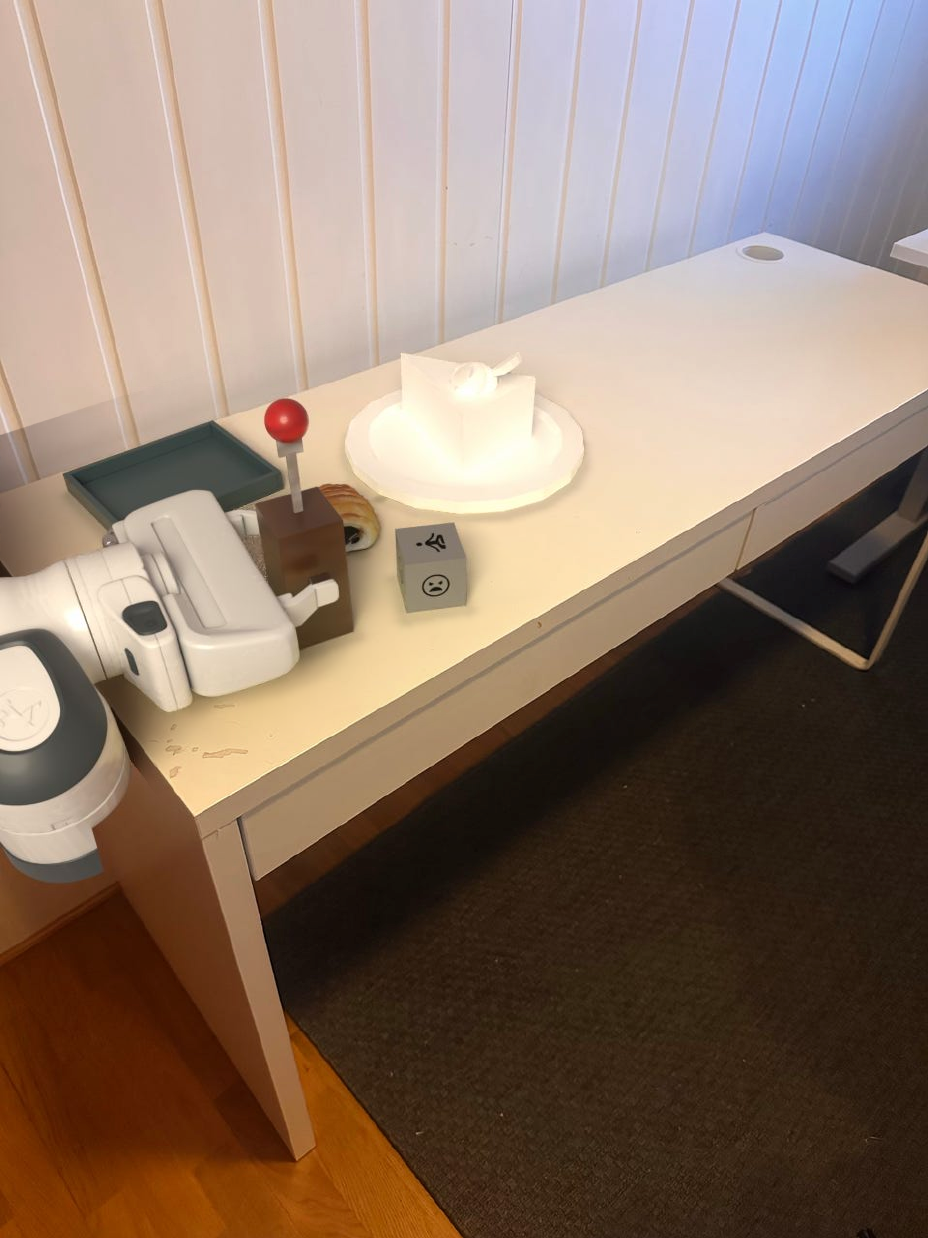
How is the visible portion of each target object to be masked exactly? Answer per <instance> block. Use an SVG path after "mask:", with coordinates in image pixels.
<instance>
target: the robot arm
mask: <svg viewBox="0 0 928 1238" xmlns="http://www.w3.org/2000/svg"><path fill="white" fill-rule="evenodd" d="M113 533H114V535H115V536H113V535H112V534H113ZM247 536H260V532H259V526H258V520H257V514H256V510H253V509H252V510H251V509H239V508H236V509H234V510H231V511H229V512H226V513H224V511H223V509H222V508H221V506H220V505H219V503H218V501H217V500H216V498H215V497H214V495H213V493H212V492H210V491H206V490H191V491H187V492H184V493H180V494H177V495H174V496H171V497H168V498H165V499H163V500H160V501H157V502H154V503H152V504H149V505H147V506H144V507H142V508H139V509H137V510H135V511H133V512H132V513H130V514H129V515H128V516H127V517H126V518H125V520H122V521H119V522H116V523H114V524H113V525H112V528H110V529H109V531H107V532H106V533H105V534H104V535H103V536H102V539H101V545H102V548H99V549H95V550H91V551H88V552H84V553H81V554H77V555H74V556H70V557H65V558H63V559H60V560H57V561H55V562H53V563H51V564H50V565H48V566H46V567H45V568H43V569H40V570H39V571H36V572H33V573H30V574H27V575H19V576H1V577H0V846H1V849H2V850H3V852H4V853H5V855H6V857H7V858H8V860H9V861H10V863H11V864H12V865H13V866H14V867H15V869H17V870H18V871H19V872H21V873H22V874H24V875H26V876H27V877H29V878H31V879H34V880H37V881H39V882H44V883H51V884H70V883H74V882H76V883H77V882H80V881H83V880H88V879H89V878H92V877H95V876H98V875H100V874H102V873H103V872H105V869H104V866H103V864H102V859H101V856H100V852H99V849H98V846H97V842H96V839H95V835H94V832H93V828H94V827H96V826H97V825H98V824H100V823H101V822H103V821H104V820H105V819H106V818H107V817H108V816H110V814H111V813H112V812H113V811H114V810H115V809H116V808H117V806H118V805H119V804H121V803H120V802H121V801H122V799H123V798H124V796H125V794H126V793H127V790H128V787H129V785H130V782H131V777H132V762H131V758H130V755H129V753H128V750H127V746H126V745H125V741H124V739H123V736H122V733H121V732H120V729H119V726H118V724H117V720H116V718H115V716H114V714H113V711H112V709H111V706H110V705H109V703H108V701H107V700H106V698H105V697H104V696H103V694H102V693H101V692H100V690H99V689H98V688H97V687H96V686H95V684H97V683H99V682H101V681H105V680H107V679H111V678H115V677H117V676H121V675H123V676H124V678H125V679H126V680H127V681H128V682H130V683H131V684H132V685H134V686H135V687H136V688H137V689H138V690H140V691H141V692H142V693H143V694H144V695H146V697H148V698H149V699H150V700H151V701H152V702H153V703H154V704H155V705H156V706H157V707H158V708H159V709H160V710H162V711H164V712H167V713H173V712H176V711H178V710H183V709H184V708H187V707H189V706H190V705H191V704H192V703H193V700H194V698H193V692H194V693H195V694H197V695H199V696H203V697H221V696H225V695H230V694H234V693H236V692H239V691H244V690H246V689H250V688H252V687H256V686H259V685H261V684H265V683H267V682H270V681H272V680H275V679H278V678H280V677H282V676H284V675H286V674H288V673H289V672H290V671H291V670H292V669H293V668H294V667H295V666H296V664H297V663H298V662H299V660H300V656H301V655H300V650H299V647H298V640H297V634H296V629H295V627H298V626H301V625H302V624H303V623H304V622H305V621H306V620H307V619H308V618H309V617H310V616H311V615H312V614H313V613H314V612H315V611H316V610H317V609H318V607H321V606H324V605H327V604H329V603H332V602H335V601H336V600H338V598H339V588H338V584H337V583H336V581H335V580H334V579H333V578H332V576H331V575H330V574H329V573H327V572H325V573H322V574H321V575H315V576H312V577H309V578H308V585H309V586H308V587H306V588H305V589H304V590H302V591H301V592H300V593H298V594H297V595H296V596H295V597H293V596H292V594H291V593H287V594H283V595H280V596H277V597H276V595H275V594H274V592H273V590H272V589H271V587H270V585H269V584H268V580H267V578H266V577H265V576H264V574H263V573H262V571H261V569H260V567H259V565H258V564H257V563H256V561H255V559H254V558H253V556H252V555H251V553H250V552H249V550H248V548H247V547H246V545H245V543H244V542H245V541H246V540H247ZM115 537H116V538H115ZM192 691H193V692H192Z"/></svg>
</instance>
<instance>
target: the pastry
mask: <svg viewBox="0 0 928 1238" xmlns="http://www.w3.org/2000/svg"><path fill="white" fill-rule="evenodd" d="M317 487H318V488H319V489H320V491H321V492H322V493H323V494H324V496H325V497H326V498H327V500H328V501H329V502H330V503H331V505H332V506H333V507H334V509H335V510H336V511H337V512H338V514H339V515H340V516H341V518H342V519H343V524H344V535H345V546H346V553H349V552H352V551H360V550H365V549H367V548H370V547H371V546H372V545H374V544H375V542H376V541H377V539H378V537H379V534H380V530H381V523H380V521H379V517H378V515H377V513H376V511H375V508H374V507H373V506H372V504H371V503H370V501H369V500H368V499H367V498H366V497H365V496H364V495H363V494H360V493H359V492H358V490H356V489H355V488H354V487H352V486H350V485H349V484H346V483H342V484H341V483H340V484H339V483H335V484H333V483H323V484H322V485H319V486H317Z"/></svg>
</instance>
